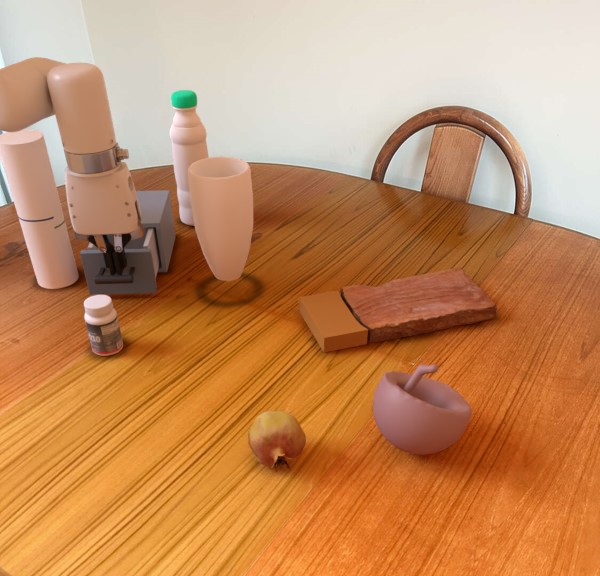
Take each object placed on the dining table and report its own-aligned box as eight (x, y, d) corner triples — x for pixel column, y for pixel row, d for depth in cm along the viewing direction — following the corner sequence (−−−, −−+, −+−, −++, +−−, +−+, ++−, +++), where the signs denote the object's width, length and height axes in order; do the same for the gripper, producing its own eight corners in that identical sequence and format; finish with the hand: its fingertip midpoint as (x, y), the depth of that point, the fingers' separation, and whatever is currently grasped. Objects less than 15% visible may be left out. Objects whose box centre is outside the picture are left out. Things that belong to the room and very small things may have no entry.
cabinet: (167, 272, 120) (159, 223, 114) (97, 274, 120) (86, 224, 113) (175, 236, 131) (169, 190, 125) (112, 238, 131) (102, 191, 125)
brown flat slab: (298, 311, 109) (297, 293, 107) (458, 282, 116) (461, 266, 114) (324, 354, 100) (324, 336, 98) (497, 320, 107) (501, 303, 105)
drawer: (153, 306, 109) (145, 264, 104) (84, 308, 109) (73, 266, 104) (166, 256, 123) (160, 217, 118) (104, 257, 122) (96, 218, 117)
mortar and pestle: (481, 441, 85) (498, 371, 77) (425, 490, 78) (437, 418, 71) (408, 399, 91) (417, 330, 84) (350, 441, 85) (355, 370, 78)
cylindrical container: (31, 277, 119) (-12, 136, 103) (68, 265, 122) (32, 126, 106) (47, 293, 114) (5, 147, 98) (85, 279, 118) (50, 137, 102)
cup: (257, 304, 111) (250, 179, 97) (196, 305, 111) (180, 180, 97) (260, 274, 119) (254, 154, 105) (203, 275, 119) (189, 155, 105)
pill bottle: (86, 347, 102) (74, 300, 96) (114, 335, 104) (103, 289, 99) (101, 360, 99) (90, 313, 94) (129, 348, 101) (119, 301, 96)
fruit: (236, 400, 82) (245, 454, 75) (289, 383, 82) (303, 435, 75) (253, 438, 87) (262, 492, 79) (302, 422, 87) (317, 475, 79)
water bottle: (220, 216, 138) (209, 89, 122) (203, 229, 133) (189, 99, 118) (192, 210, 141) (177, 85, 125) (173, 223, 136) (156, 95, 120)
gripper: (148, 148, 99) (166, 258, 110) (48, 151, 99) (77, 261, 110) (140, 166, 93) (160, 280, 105) (34, 169, 93) (66, 284, 104)
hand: (117, 270), depth 107 cm, fingers closed
